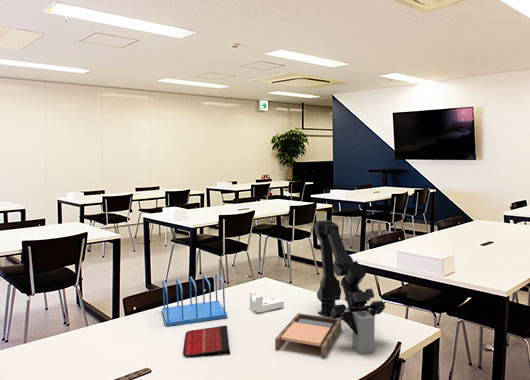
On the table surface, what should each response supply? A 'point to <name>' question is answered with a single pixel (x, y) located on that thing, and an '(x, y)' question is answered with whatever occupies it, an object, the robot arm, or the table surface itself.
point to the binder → (206, 342)
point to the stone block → (364, 332)
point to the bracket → (264, 303)
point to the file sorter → (193, 307)
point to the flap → (308, 332)
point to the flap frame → (336, 322)
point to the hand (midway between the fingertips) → (365, 333)
